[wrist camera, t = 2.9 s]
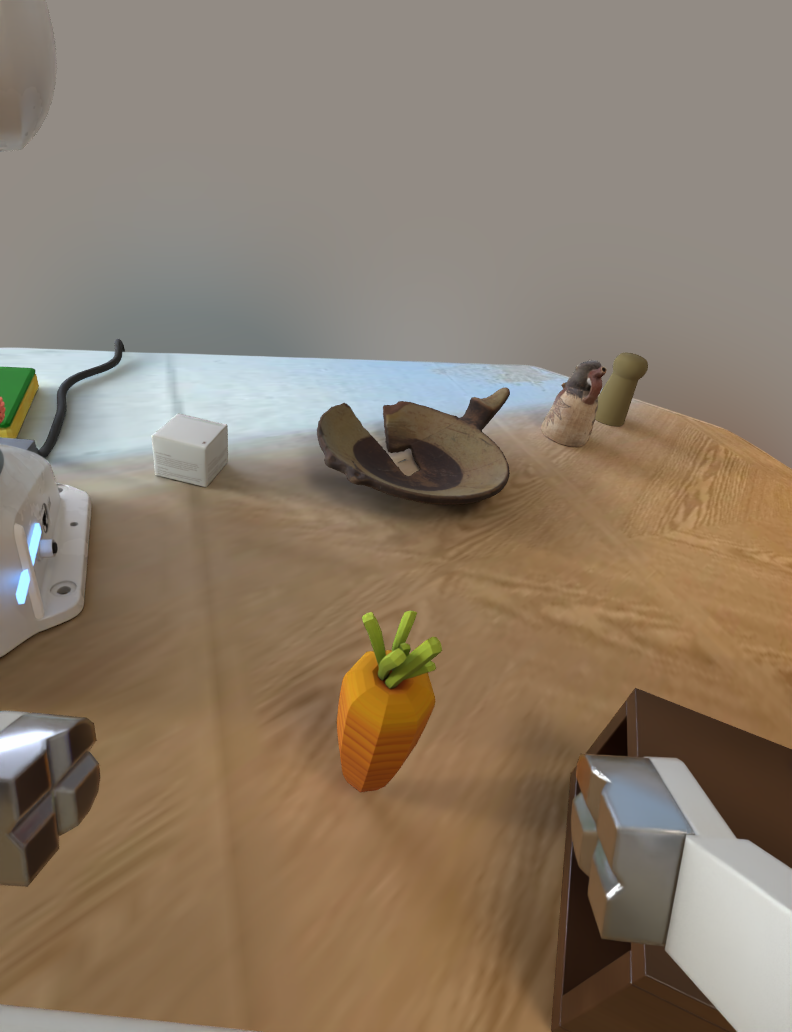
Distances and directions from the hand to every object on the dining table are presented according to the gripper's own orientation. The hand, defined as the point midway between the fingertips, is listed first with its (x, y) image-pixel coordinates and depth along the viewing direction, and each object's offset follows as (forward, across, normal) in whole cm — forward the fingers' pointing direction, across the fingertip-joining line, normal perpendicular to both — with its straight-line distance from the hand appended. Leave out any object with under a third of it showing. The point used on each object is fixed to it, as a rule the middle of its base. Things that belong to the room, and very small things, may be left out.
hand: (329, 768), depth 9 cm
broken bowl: (+57, -1, +3) cm, 57 cm away
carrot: (+21, +2, +18) cm, 28 cm away
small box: (+47, +24, +2) cm, 53 cm away
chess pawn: (+87, -31, -3) cm, 92 cm away
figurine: (+76, -22, -1) cm, 79 cm away
